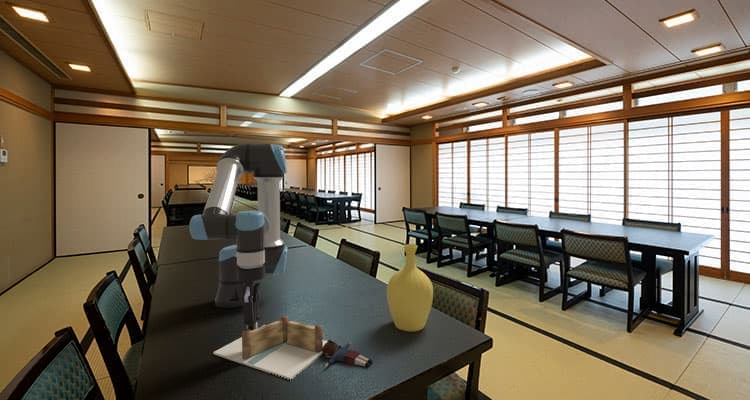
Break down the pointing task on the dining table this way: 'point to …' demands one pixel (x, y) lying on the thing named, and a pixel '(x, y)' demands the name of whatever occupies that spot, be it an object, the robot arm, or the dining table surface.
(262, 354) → the card
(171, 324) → the dining table surface
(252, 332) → the fence wing
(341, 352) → the toy
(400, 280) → the vase
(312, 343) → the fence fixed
